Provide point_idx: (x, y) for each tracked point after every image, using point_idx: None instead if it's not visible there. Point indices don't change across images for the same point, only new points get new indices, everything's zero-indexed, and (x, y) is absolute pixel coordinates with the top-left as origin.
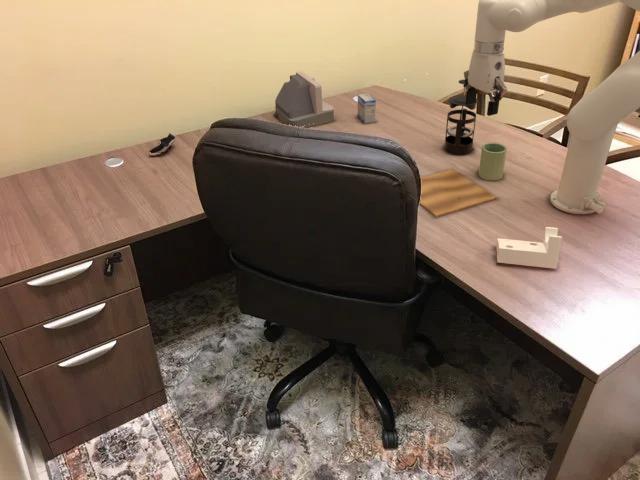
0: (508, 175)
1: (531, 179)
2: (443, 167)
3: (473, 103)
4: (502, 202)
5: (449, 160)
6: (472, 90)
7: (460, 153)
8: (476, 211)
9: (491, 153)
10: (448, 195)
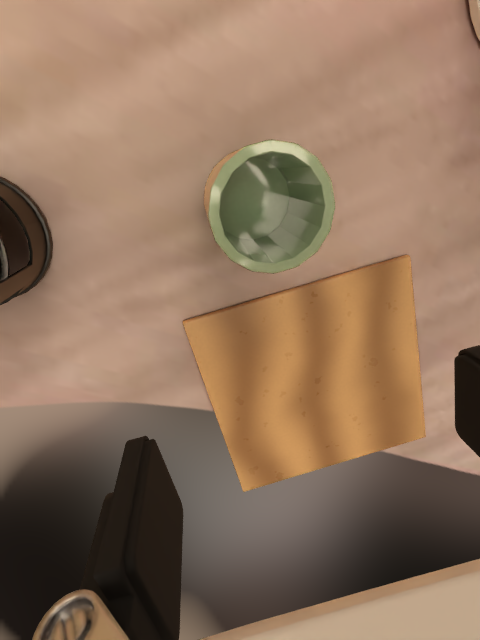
0: (270, 126)
1: (330, 40)
2: (152, 342)
3: (160, 455)
4: (432, 241)
5: (96, 306)
6: (149, 620)
7: (48, 251)
8: (441, 333)
9: (318, 248)
10: (348, 385)
